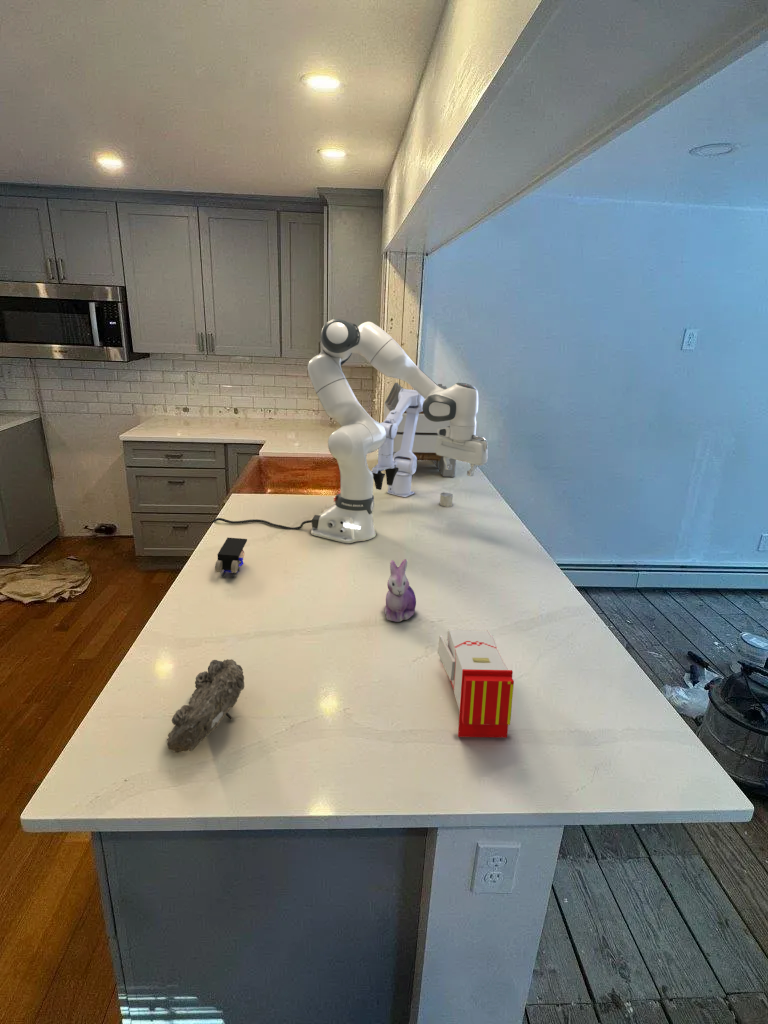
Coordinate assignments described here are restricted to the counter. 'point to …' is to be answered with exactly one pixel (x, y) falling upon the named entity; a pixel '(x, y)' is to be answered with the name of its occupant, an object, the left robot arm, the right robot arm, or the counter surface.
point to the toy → (478, 682)
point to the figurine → (399, 594)
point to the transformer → (419, 434)
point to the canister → (446, 499)
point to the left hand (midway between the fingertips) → (459, 472)
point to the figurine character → (230, 556)
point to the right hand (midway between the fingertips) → (384, 487)
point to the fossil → (206, 705)
